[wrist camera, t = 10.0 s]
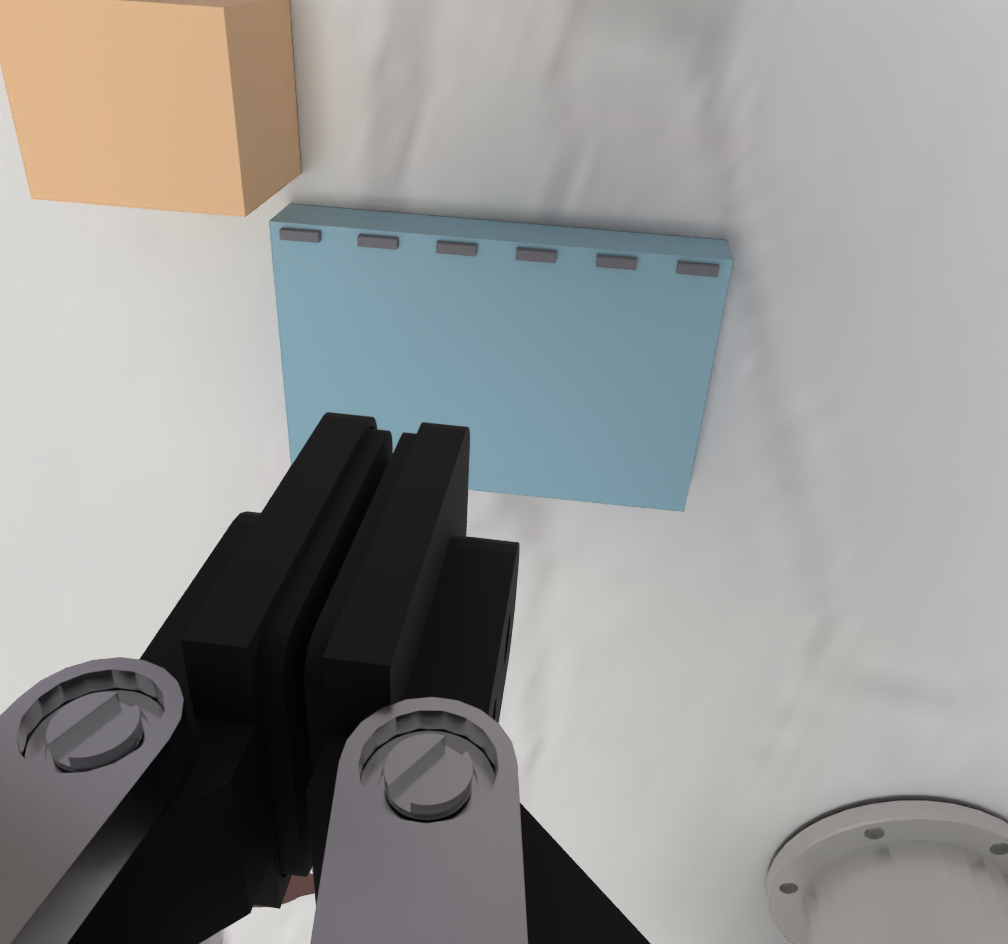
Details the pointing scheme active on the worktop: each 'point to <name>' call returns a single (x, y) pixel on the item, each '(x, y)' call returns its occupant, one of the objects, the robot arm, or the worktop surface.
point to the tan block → (153, 101)
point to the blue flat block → (506, 344)
